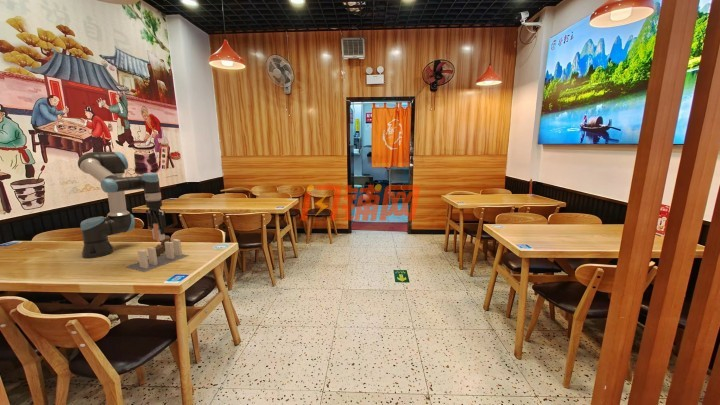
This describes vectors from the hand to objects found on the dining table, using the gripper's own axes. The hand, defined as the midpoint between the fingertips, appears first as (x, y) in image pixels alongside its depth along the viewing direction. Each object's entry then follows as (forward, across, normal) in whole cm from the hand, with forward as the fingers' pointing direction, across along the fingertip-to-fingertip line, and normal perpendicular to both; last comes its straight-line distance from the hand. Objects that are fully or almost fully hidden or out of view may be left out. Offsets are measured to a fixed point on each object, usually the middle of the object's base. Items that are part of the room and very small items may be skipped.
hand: (159, 238), depth 170 cm
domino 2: (+14, 0, -5) cm, 15 cm away
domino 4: (+14, 0, +5) cm, 15 cm away
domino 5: (+14, 0, +10) cm, 17 cm away
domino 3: (+1, 0, 0) cm, 1 cm away
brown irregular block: (+15, -15, +11) cm, 24 cm away
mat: (+14, -2, -1) cm, 15 cm away
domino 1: (+14, 0, -10) cm, 17 cm away
